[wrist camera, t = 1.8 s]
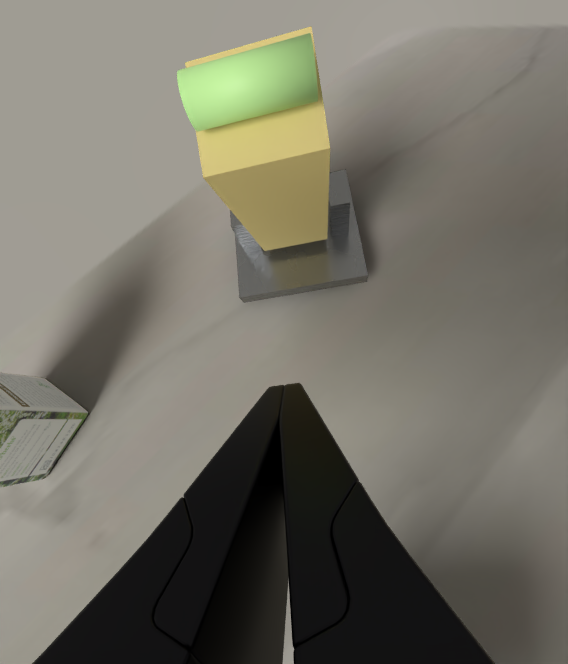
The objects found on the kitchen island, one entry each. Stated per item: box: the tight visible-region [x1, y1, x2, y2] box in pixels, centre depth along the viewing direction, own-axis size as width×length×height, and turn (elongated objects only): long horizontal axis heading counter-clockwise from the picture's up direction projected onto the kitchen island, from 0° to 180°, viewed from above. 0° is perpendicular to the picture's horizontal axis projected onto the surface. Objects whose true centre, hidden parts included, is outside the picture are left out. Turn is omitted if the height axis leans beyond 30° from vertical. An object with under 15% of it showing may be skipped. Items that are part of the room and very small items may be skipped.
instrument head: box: [177, 27, 330, 251], centre depth 15 cm, size 4×4×13 cm
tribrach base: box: [230, 169, 368, 303], centre depth 22 cm, size 9×9×5 cm
